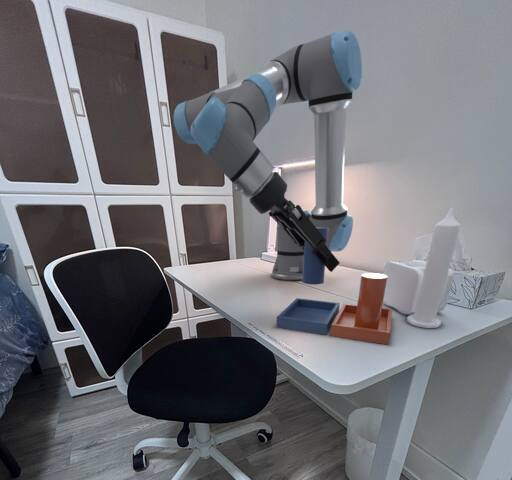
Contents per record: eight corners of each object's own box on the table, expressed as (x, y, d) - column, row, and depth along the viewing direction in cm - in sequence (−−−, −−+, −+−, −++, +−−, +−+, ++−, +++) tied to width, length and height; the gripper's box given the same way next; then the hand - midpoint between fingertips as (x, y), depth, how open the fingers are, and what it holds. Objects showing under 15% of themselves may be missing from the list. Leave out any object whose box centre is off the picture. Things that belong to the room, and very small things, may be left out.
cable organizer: (375, 300, 85) (382, 259, 80) (408, 297, 87) (416, 258, 82) (408, 318, 72) (419, 271, 67) (446, 315, 73) (459, 268, 68)
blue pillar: (305, 278, 72) (308, 226, 67) (325, 280, 70) (330, 227, 65) (299, 283, 68) (302, 228, 62) (321, 285, 66) (325, 228, 61)
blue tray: (296, 307, 81) (296, 298, 79) (338, 312, 76) (339, 303, 75) (276, 327, 68) (276, 316, 67) (326, 335, 63) (327, 324, 62)
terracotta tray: (342, 312, 76) (343, 303, 75) (390, 318, 72) (392, 308, 70) (330, 335, 63) (331, 324, 62) (388, 344, 59) (390, 333, 58)
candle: (419, 315, 73) (445, 206, 62) (446, 324, 68) (481, 206, 57) (400, 320, 70) (424, 207, 60) (427, 330, 65) (460, 207, 54)
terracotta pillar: (355, 324, 67) (362, 272, 62) (378, 327, 65) (388, 274, 60) (352, 332, 63) (360, 277, 58) (376, 336, 61) (387, 279, 56)
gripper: (238, 200, 65) (301, 269, 76) (261, 199, 50) (337, 286, 61) (260, 174, 64) (321, 247, 75) (291, 164, 49) (362, 258, 60)
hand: (328, 264), depth 68 cm, fingers closed on blue pillar, 5 cm apart
